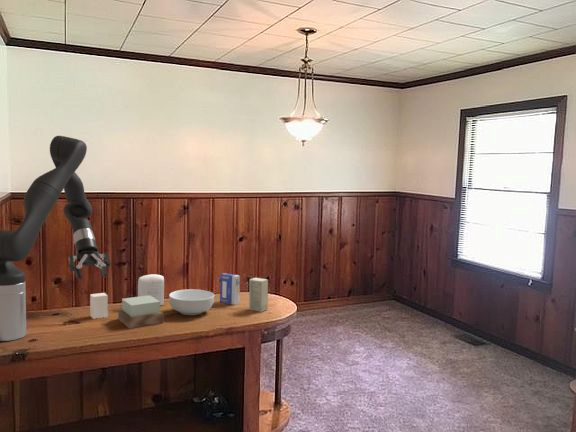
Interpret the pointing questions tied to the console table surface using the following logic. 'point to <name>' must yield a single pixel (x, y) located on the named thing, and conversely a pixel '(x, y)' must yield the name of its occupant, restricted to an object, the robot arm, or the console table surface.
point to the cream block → (98, 305)
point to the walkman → (229, 288)
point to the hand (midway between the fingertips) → (93, 277)
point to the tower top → (140, 305)
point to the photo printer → (152, 287)
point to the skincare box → (258, 294)
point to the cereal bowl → (191, 301)
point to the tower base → (140, 319)
